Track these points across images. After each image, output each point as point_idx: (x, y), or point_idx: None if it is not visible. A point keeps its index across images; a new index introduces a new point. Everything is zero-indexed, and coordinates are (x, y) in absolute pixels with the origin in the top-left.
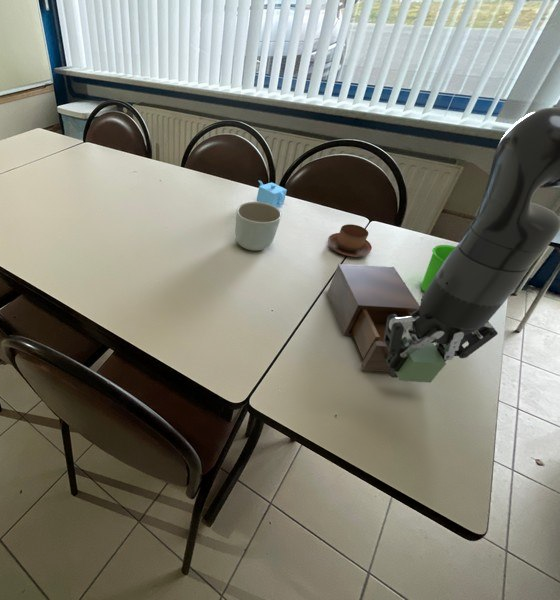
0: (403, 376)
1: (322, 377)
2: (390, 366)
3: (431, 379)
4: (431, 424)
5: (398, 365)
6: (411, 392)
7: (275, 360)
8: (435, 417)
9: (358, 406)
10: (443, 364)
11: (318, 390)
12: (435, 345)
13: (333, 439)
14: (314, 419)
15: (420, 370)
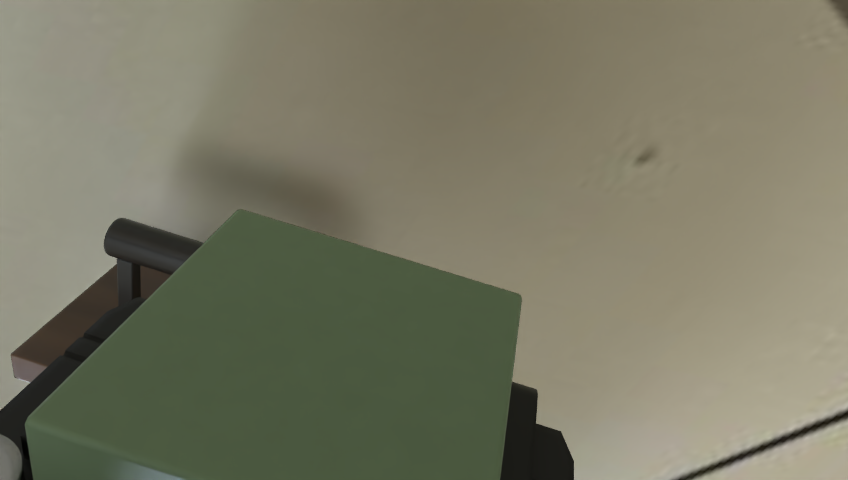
0: (510, 335)
1: (570, 337)
2: (565, 453)
3: (230, 236)
4: (208, 20)
5: (525, 466)
6: (216, 184)
7: (731, 456)
8: (173, 50)
9: (497, 176)
10: (65, 414)
11: (635, 289)
12: (26, 379)
13: (754, 39)
14: (771, 162)
15: (356, 377)
